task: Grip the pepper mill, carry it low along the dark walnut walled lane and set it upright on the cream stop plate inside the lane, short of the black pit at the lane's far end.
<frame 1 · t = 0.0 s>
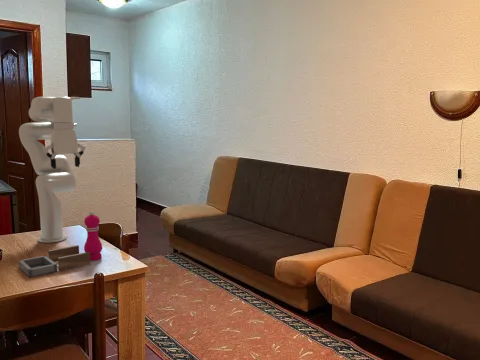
hand: (65, 167, 196), 37 cm above the table, tool pointing down, fingers open, 9 cm apart
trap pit: (38, 269, 178), on the table
pepper mill: (93, 259, 192), on the table
walled lane: (69, 263, 185), on the table
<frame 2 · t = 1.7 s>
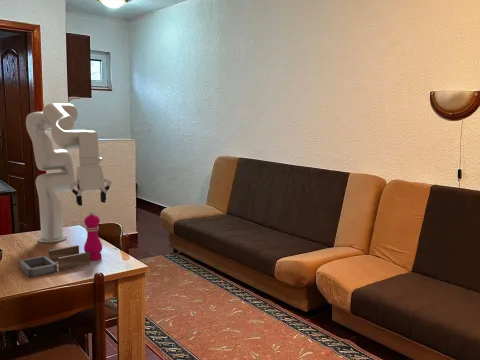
hand: (91, 203, 188), 23 cm above the table, tool pointing down, fingers open, 9 cm apart
nothing on the table moved.
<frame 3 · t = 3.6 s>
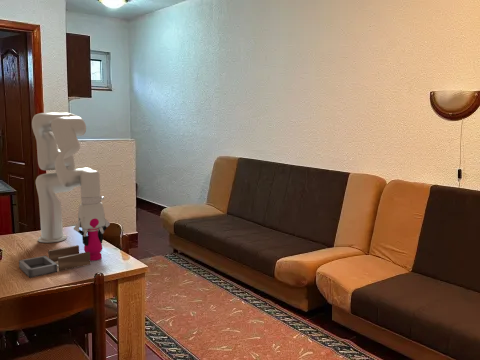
hand: (93, 243, 190), 7 cm above the table, tool pointing down, fingers closed on pepper mill, 5 cm apart
pepper mill: (93, 259, 192), on the table, touching gripper
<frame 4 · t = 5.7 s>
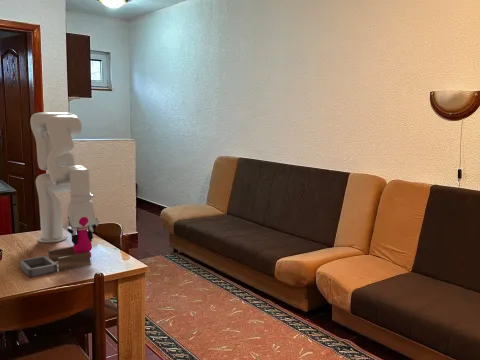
hand: (82, 242, 188), 8 cm above the table, tool pointing down, fingers closed on pepper mill, 5 cm apart
pepper mill: (83, 258, 189), point 1 cm above the table, touching gripper
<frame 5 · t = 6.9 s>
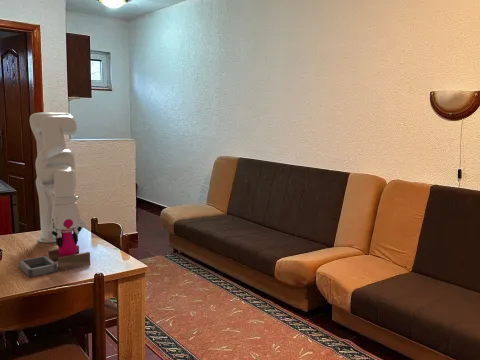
hand: (67, 244, 184), 8 cm above the table, tool pointing down, fingers closed on pepper mill, 5 cm apart
pepper mill: (68, 261, 185), point 1 cm above the table, touching gripper
when the fingers open (8 cm above the table, at t = 7.6 s): pepper mill stays where it is, resting on walled lane.
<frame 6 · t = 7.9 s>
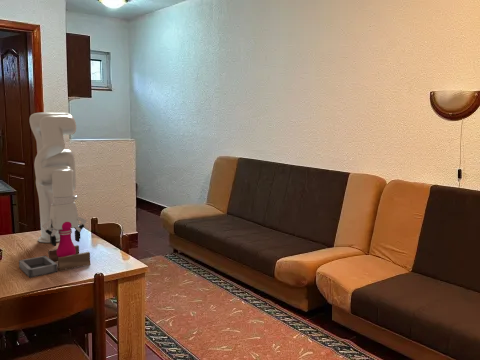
hand: (65, 243, 183), 9 cm above the table, tool pointing down, fingers open, 8 cm apart
pepper mill: (66, 263, 185), resting on walled lane
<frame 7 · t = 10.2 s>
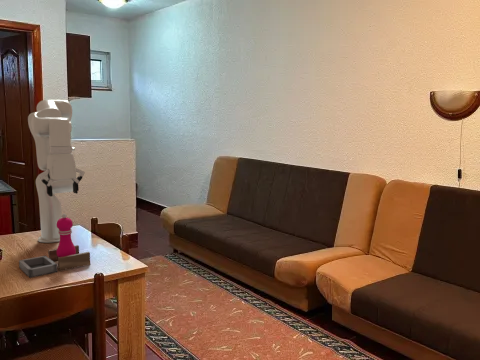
hand: (63, 194, 180), 28 cm above the table, tool pointing down, fingers open, 9 cm apart
nothing on the table moved.
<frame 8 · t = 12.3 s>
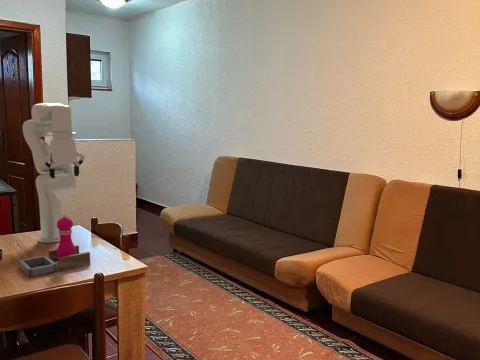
hand: (64, 177, 192), 33 cm above the table, tool pointing down, fingers open, 9 cm apart
nothing on the table moved.
at the end: pepper mill inside the target area (0.3 cm from its centre), resting on walled lane; pepper mill tilted 0°; pepper mill touching walled lane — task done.
